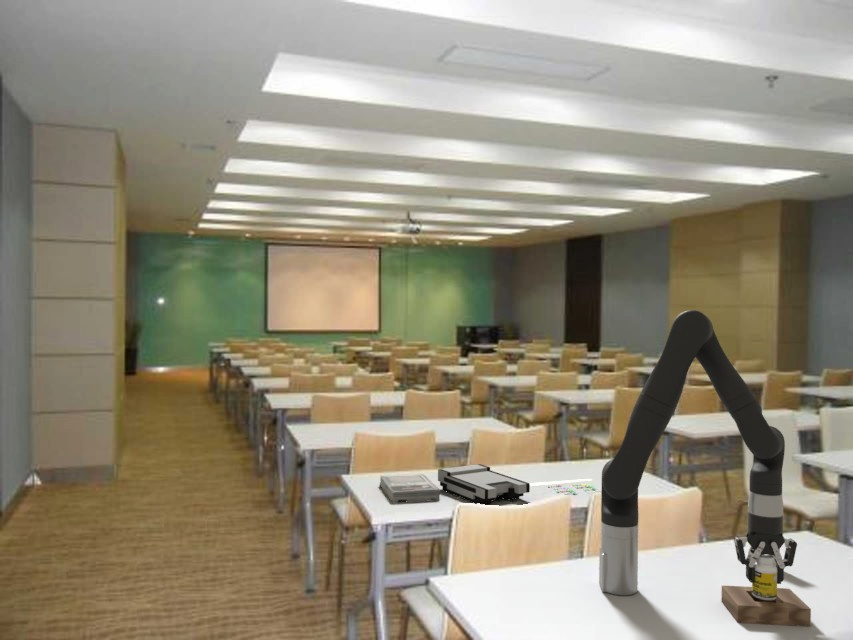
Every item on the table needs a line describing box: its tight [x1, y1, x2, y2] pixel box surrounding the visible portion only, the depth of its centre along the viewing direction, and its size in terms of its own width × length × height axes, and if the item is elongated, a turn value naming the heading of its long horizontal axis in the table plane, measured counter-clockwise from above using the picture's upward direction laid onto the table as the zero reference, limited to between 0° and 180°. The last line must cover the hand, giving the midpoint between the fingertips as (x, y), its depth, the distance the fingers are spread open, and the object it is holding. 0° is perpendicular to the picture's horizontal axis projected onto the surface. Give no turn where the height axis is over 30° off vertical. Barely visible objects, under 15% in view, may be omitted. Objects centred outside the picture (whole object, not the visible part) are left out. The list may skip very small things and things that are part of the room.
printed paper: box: [529, 478, 601, 495], centre depth 286 cm, size 30×30×2 cm
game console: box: [437, 463, 531, 505], centre depth 277 cm, size 21×32×8 cm, turn 31°
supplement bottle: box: [751, 554, 778, 600], centre depth 169 cm, size 5×5×10 cm
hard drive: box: [379, 473, 441, 503], centre depth 279 cm, size 18×27×4 cm
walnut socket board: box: [720, 585, 812, 627], centre depth 169 cm, size 16×12×4 cm
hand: (764, 581), depth 169 cm, fingers closed on supplement bottle, 5 cm apart
